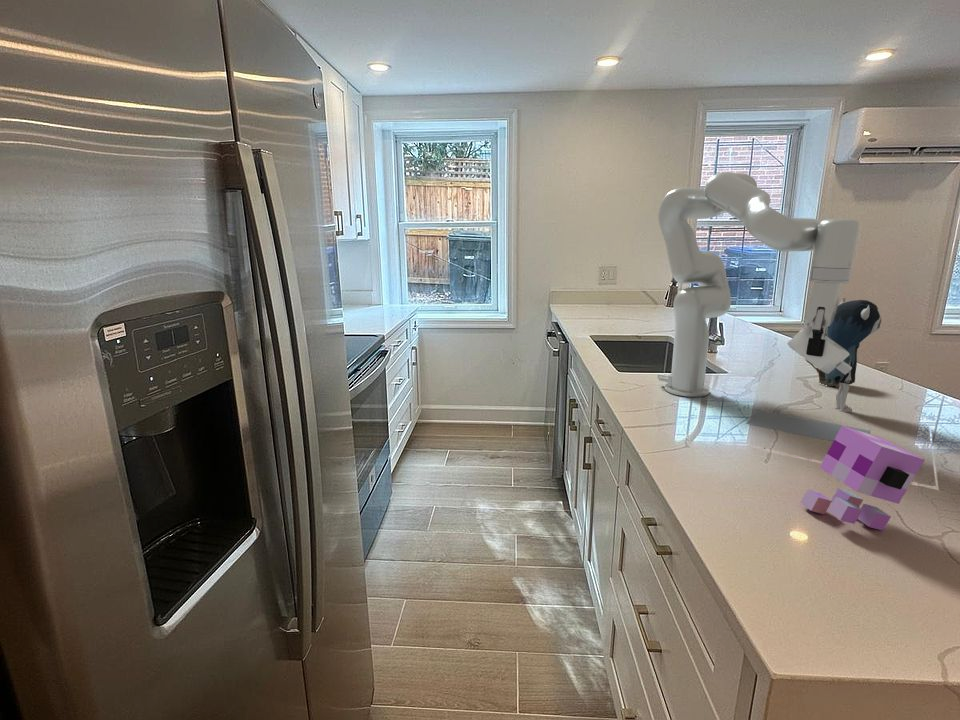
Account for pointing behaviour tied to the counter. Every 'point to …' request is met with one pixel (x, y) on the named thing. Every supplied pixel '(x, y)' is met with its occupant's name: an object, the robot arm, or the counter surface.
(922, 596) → the counter surface
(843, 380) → the toy
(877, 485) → the toy
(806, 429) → the mat
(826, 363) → the plug
